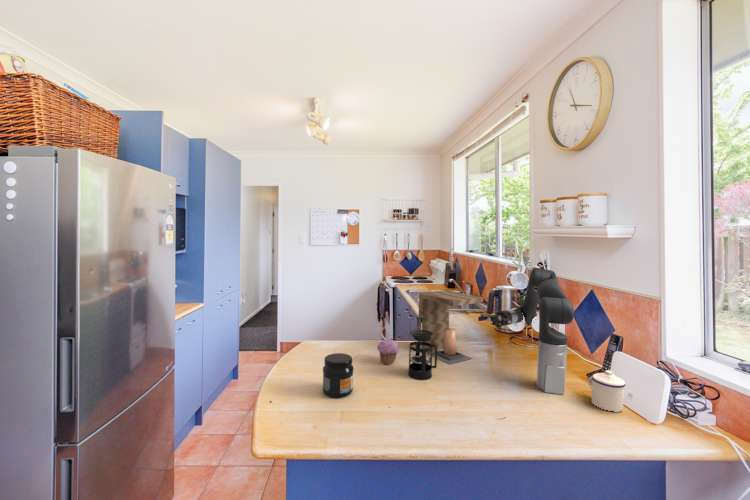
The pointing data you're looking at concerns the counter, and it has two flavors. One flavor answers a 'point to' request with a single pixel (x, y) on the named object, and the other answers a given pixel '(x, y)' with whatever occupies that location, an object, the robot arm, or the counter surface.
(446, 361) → the grey square plate
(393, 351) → the cupcake
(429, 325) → the wooden side table
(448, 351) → the canister
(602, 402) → the teacup with lid
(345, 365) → the supplement container
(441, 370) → the counter surface
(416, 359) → the french press
